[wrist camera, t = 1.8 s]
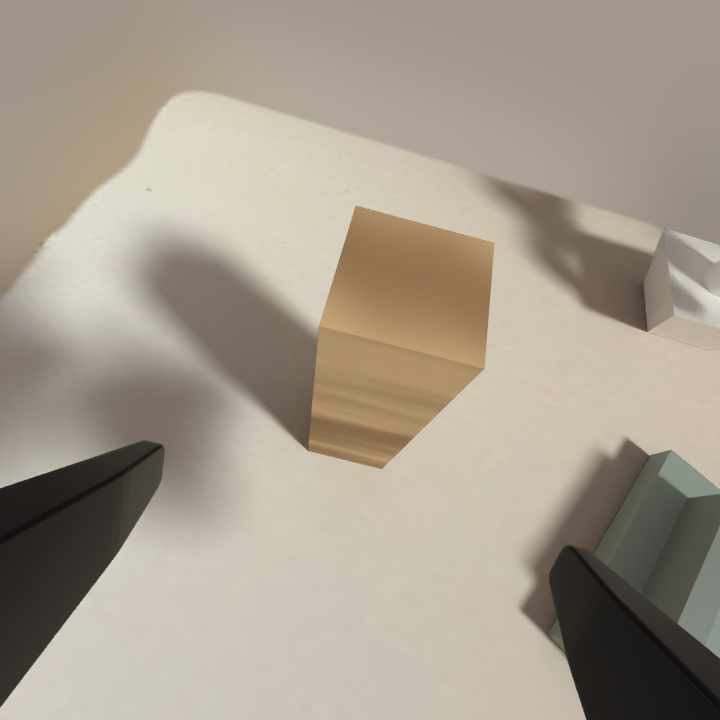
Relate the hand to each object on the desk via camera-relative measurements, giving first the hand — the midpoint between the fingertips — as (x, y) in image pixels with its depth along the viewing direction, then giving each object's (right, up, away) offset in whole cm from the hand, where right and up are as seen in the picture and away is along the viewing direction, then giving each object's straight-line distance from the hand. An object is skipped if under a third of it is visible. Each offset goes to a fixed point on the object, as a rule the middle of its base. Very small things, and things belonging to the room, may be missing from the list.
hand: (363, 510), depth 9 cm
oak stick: (0, 0, +13) cm, 13 cm away
